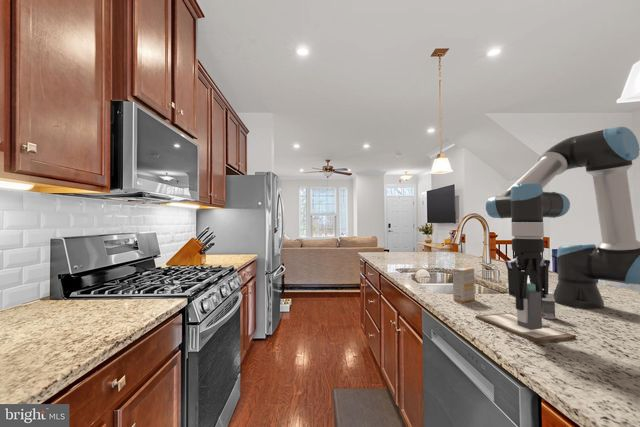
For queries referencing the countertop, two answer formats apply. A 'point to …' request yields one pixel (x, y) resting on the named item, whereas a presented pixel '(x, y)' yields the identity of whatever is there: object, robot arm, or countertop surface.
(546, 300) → the pill bottle
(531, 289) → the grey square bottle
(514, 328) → the brown rectangular tray
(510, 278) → the robot arm
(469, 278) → the supplement box
